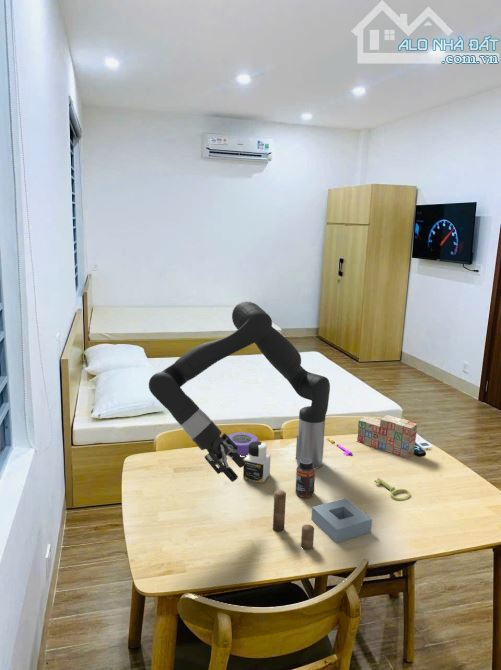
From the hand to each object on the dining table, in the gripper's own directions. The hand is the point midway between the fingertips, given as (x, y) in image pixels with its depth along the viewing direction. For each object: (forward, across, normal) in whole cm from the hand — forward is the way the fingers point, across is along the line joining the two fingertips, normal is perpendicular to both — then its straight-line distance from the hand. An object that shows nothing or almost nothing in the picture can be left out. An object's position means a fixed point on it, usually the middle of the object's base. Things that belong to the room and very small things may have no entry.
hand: (239, 472), depth 138 cm
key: (+42, +30, -20) cm, 56 cm away
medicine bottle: (+10, +28, +12) cm, 32 cm away
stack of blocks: (+41, +65, -19) cm, 79 cm away
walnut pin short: (+26, -6, -4) cm, 26 cm away
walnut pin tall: (+19, 0, +3) cm, 19 cm away
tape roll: (+4, +45, +18) cm, 49 cm away
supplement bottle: (+23, +21, -1) cm, 31 cm away
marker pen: (+28, +59, -6) cm, 66 cm away
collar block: (+31, +6, -9) cm, 33 cm away
